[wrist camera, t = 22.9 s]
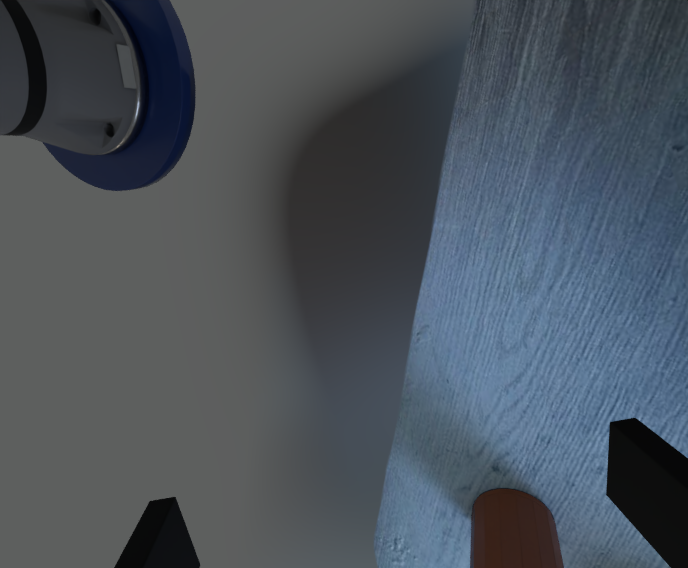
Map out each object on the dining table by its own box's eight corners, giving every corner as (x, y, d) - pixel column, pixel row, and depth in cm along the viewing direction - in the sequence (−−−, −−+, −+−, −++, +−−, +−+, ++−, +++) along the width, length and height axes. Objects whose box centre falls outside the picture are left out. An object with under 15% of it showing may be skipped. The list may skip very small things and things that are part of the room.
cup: (464, 528, 41) (460, 620, 33) (482, 477, 38) (482, 566, 30) (540, 557, 39) (556, 663, 31) (566, 506, 36) (590, 609, 28)
